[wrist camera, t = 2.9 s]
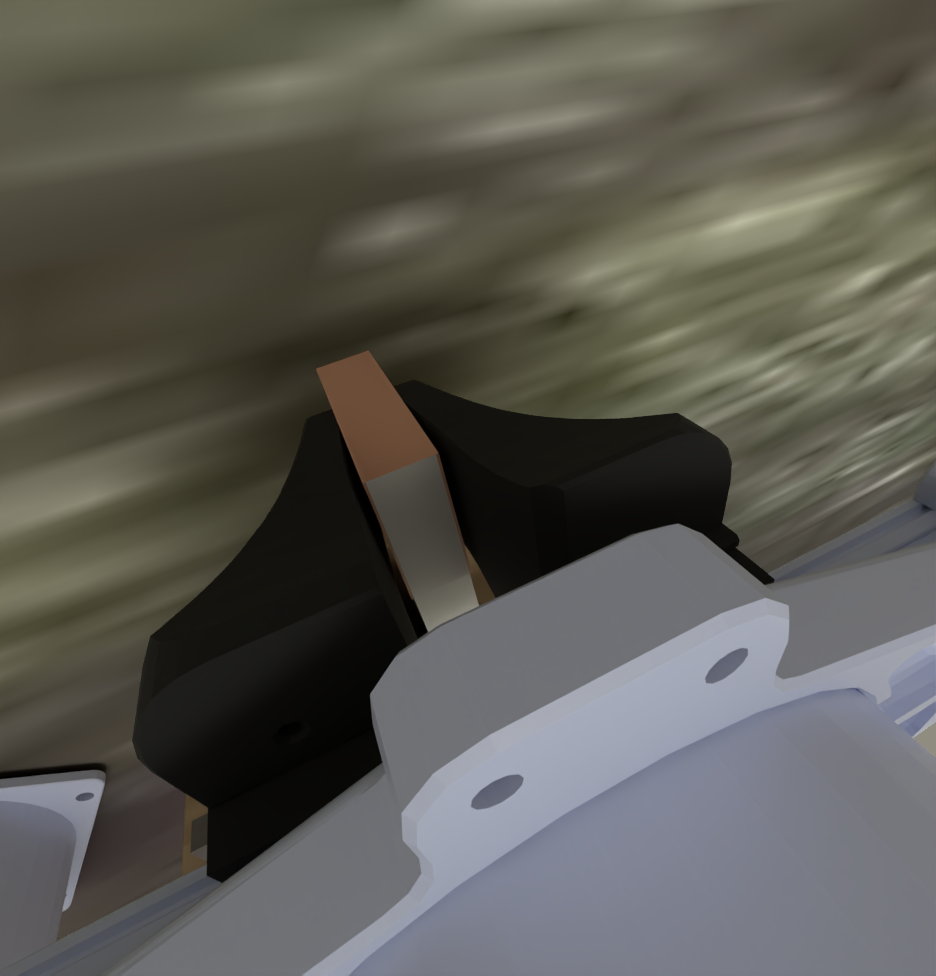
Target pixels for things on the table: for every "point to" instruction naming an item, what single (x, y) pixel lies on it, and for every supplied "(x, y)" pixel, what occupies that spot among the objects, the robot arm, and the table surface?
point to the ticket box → (199, 813)
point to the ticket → (402, 486)
